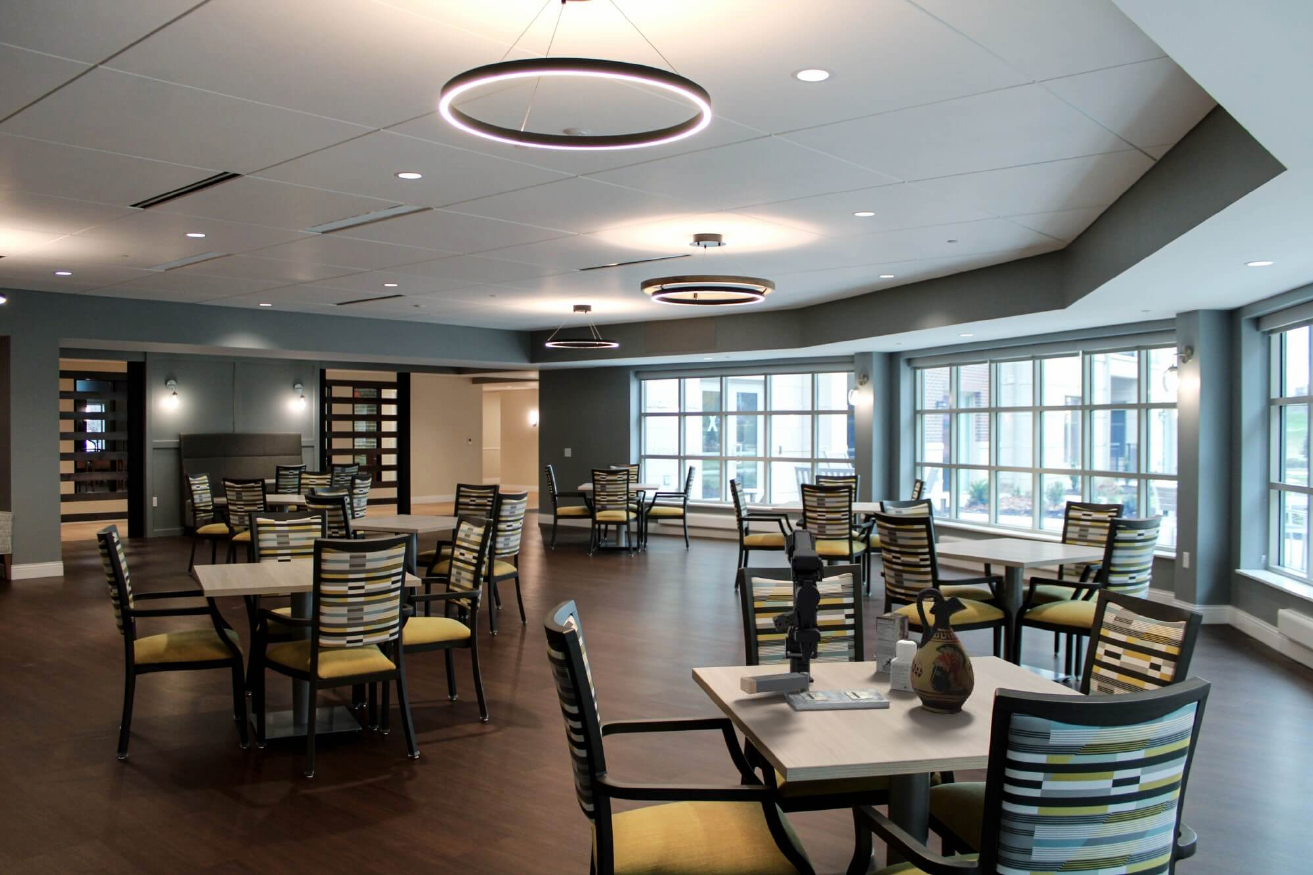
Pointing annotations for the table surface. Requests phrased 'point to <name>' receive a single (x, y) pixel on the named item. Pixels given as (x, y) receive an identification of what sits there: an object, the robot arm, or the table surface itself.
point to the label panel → (836, 699)
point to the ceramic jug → (941, 658)
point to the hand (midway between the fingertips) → (805, 663)
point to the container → (903, 664)
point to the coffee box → (889, 638)
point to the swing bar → (775, 682)
